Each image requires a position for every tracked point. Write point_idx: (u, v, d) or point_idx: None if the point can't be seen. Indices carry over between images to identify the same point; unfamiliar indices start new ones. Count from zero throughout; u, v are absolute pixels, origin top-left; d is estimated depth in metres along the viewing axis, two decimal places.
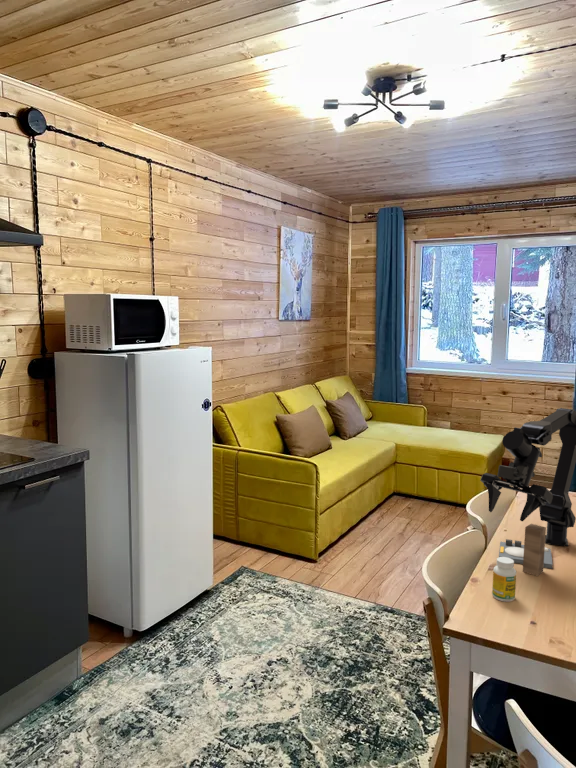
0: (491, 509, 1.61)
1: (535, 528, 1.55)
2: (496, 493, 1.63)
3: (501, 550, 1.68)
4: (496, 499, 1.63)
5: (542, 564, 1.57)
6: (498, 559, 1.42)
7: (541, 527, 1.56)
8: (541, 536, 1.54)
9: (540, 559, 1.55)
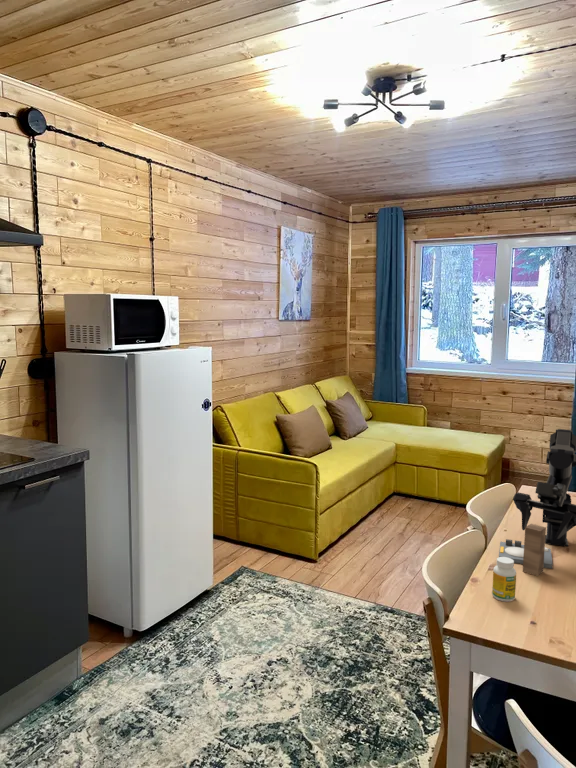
0: (524, 527, 1.62)
1: (535, 528, 1.55)
2: (528, 513, 1.64)
3: (501, 550, 1.68)
4: (528, 519, 1.64)
5: (542, 564, 1.57)
6: (498, 559, 1.42)
7: (541, 527, 1.56)
8: (541, 537, 1.54)
9: (540, 559, 1.55)
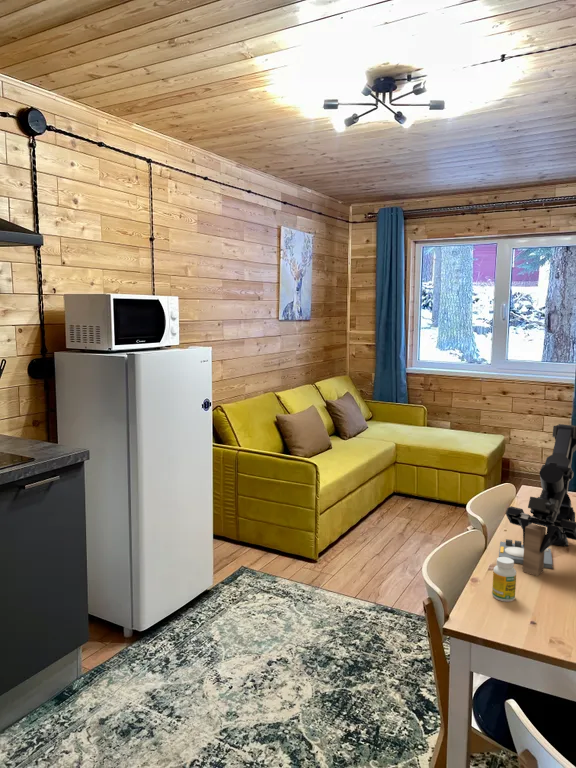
0: None
1: (535, 528, 1.55)
2: None
3: (501, 550, 1.68)
4: None
5: (542, 564, 1.57)
6: (498, 559, 1.42)
7: (541, 527, 1.56)
8: (541, 536, 1.54)
9: (540, 559, 1.55)
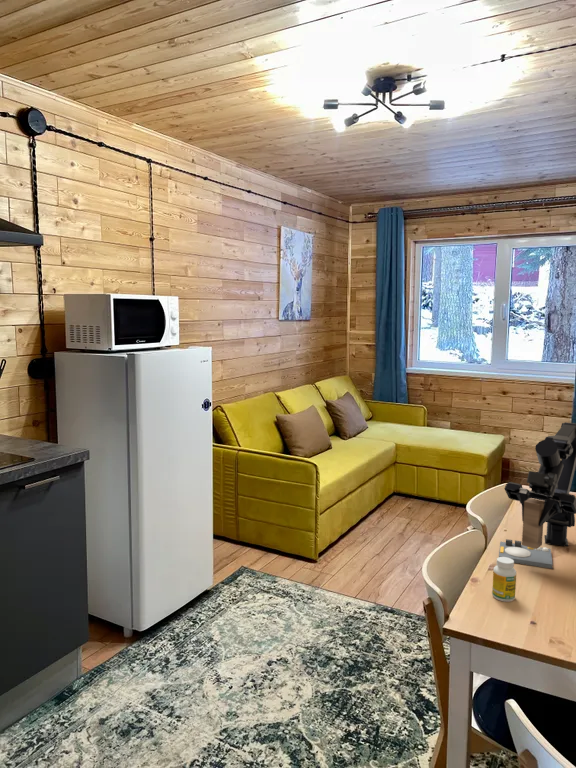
0: None
1: (534, 502, 1.57)
2: None
3: (501, 550, 1.68)
4: None
5: (541, 537, 1.59)
6: (498, 559, 1.42)
7: (540, 501, 1.58)
8: (540, 510, 1.56)
9: (539, 533, 1.57)
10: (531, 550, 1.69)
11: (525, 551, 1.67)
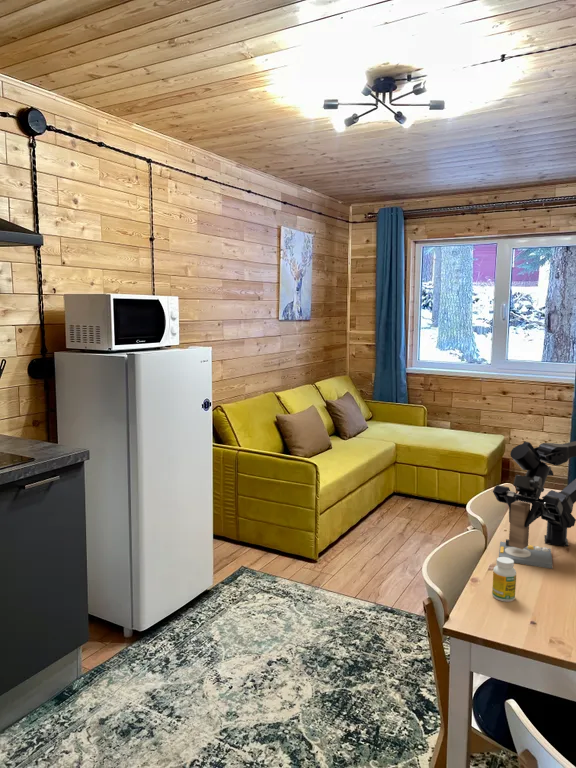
0: None
1: (520, 505, 1.64)
2: None
3: (501, 550, 1.68)
4: None
5: (527, 538, 1.66)
6: (498, 559, 1.42)
7: (526, 503, 1.65)
8: (525, 512, 1.63)
9: (524, 533, 1.64)
10: (531, 550, 1.69)
11: (525, 551, 1.67)
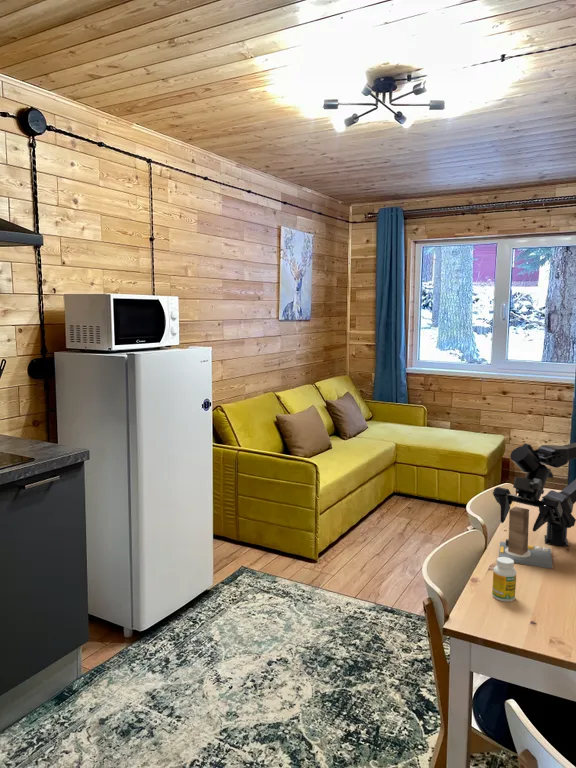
0: (503, 520, 1.68)
1: (518, 510, 1.64)
2: (507, 506, 1.71)
3: (501, 550, 1.68)
4: (507, 512, 1.71)
5: (526, 544, 1.66)
6: (498, 559, 1.42)
7: (524, 509, 1.66)
8: (524, 518, 1.64)
9: (524, 539, 1.65)
10: (531, 550, 1.69)
11: None
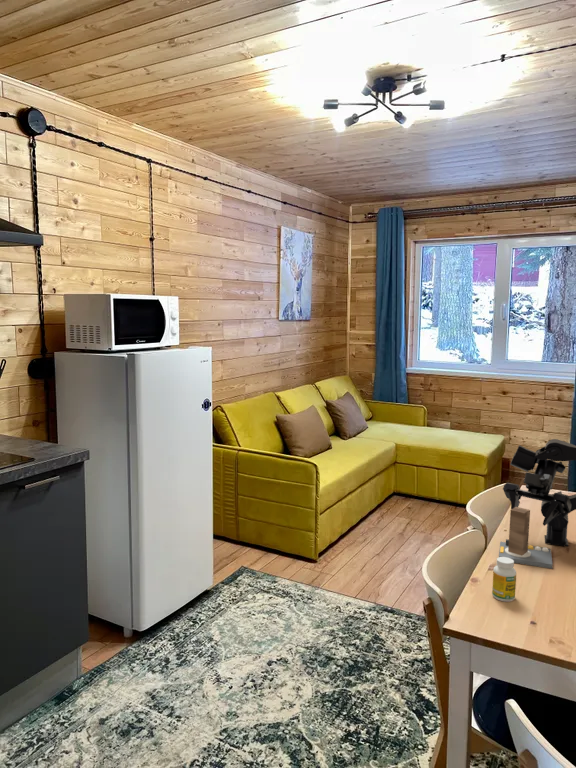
0: None
1: (520, 511, 1.64)
2: (517, 501, 1.76)
3: (501, 550, 1.68)
4: None
5: (526, 545, 1.66)
6: (498, 559, 1.42)
7: (525, 510, 1.65)
8: (525, 518, 1.64)
9: (524, 540, 1.65)
10: (531, 550, 1.69)
11: None
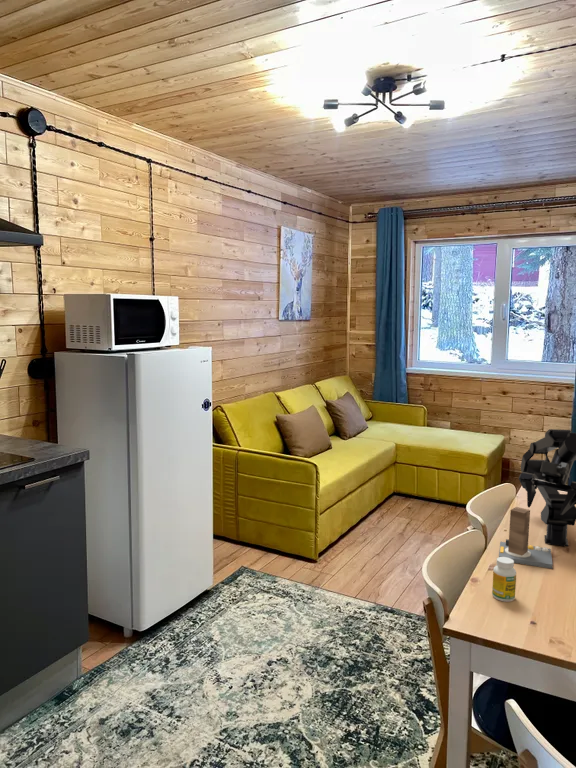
0: (529, 504, 1.70)
1: (520, 511, 1.64)
2: (533, 491, 1.73)
3: (501, 550, 1.68)
4: (533, 497, 1.72)
5: (526, 545, 1.66)
6: (498, 559, 1.42)
7: (525, 510, 1.65)
8: (525, 518, 1.64)
9: (524, 540, 1.65)
10: (531, 550, 1.69)
11: None
